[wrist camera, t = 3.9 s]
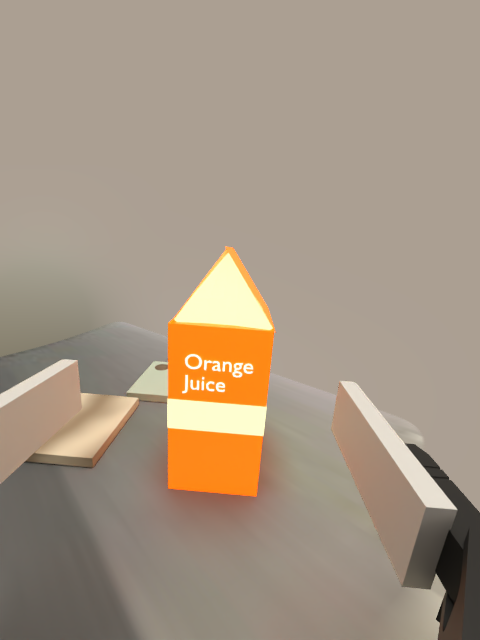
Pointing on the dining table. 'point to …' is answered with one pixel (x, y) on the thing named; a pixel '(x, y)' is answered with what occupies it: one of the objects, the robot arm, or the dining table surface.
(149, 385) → the tile two
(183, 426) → the orange juice
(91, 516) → the dining table surface
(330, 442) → the dining table surface
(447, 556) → the robot arm
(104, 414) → the tile one
